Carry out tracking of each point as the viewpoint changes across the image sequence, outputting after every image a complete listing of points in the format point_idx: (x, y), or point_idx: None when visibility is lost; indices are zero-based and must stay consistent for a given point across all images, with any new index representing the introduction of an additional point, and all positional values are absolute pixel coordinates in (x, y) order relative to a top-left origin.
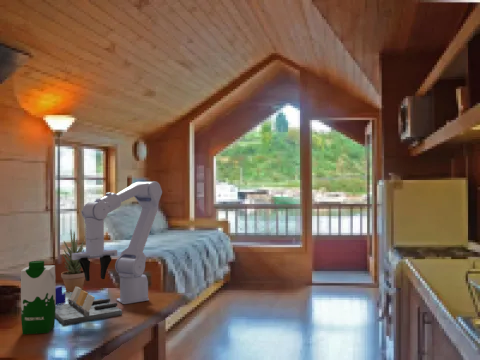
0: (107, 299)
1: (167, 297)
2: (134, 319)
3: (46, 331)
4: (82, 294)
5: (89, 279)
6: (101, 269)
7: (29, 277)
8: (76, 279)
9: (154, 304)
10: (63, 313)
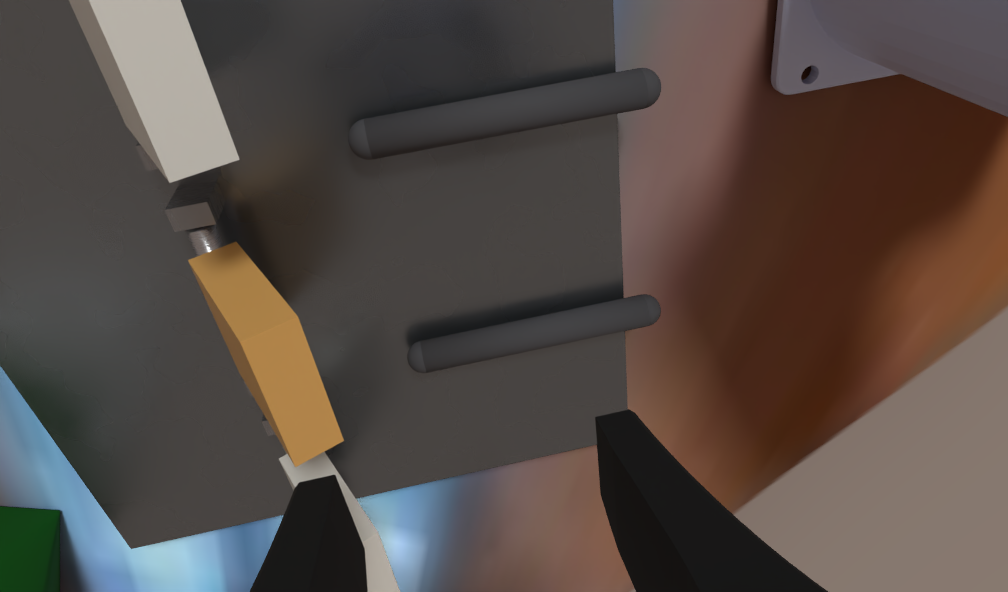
0: (615, 109)
1: None
2: None
3: None
4: (266, 412)
5: (365, 579)
6: (670, 573)
7: None
8: None
9: (987, 207)
10: (83, 379)
